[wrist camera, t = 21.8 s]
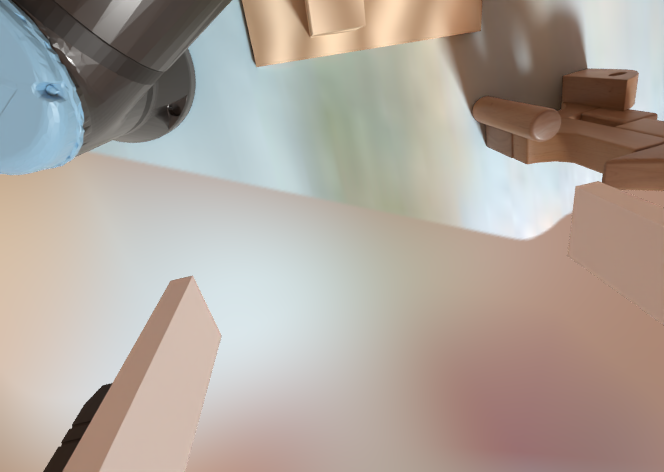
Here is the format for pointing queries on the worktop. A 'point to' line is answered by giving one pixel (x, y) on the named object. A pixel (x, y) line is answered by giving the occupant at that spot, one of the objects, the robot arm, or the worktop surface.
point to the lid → (350, 25)
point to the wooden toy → (583, 129)
